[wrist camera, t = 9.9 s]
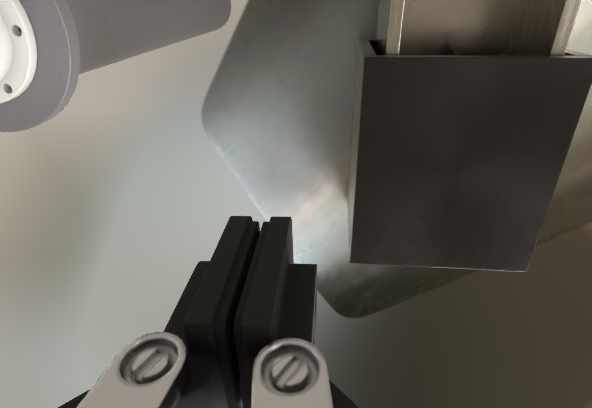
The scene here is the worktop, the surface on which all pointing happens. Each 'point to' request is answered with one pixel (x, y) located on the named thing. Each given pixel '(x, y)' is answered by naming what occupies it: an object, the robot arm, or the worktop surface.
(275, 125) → the worktop surface
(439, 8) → the beige drawer
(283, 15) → the worktop surface
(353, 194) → the black rectangular box
